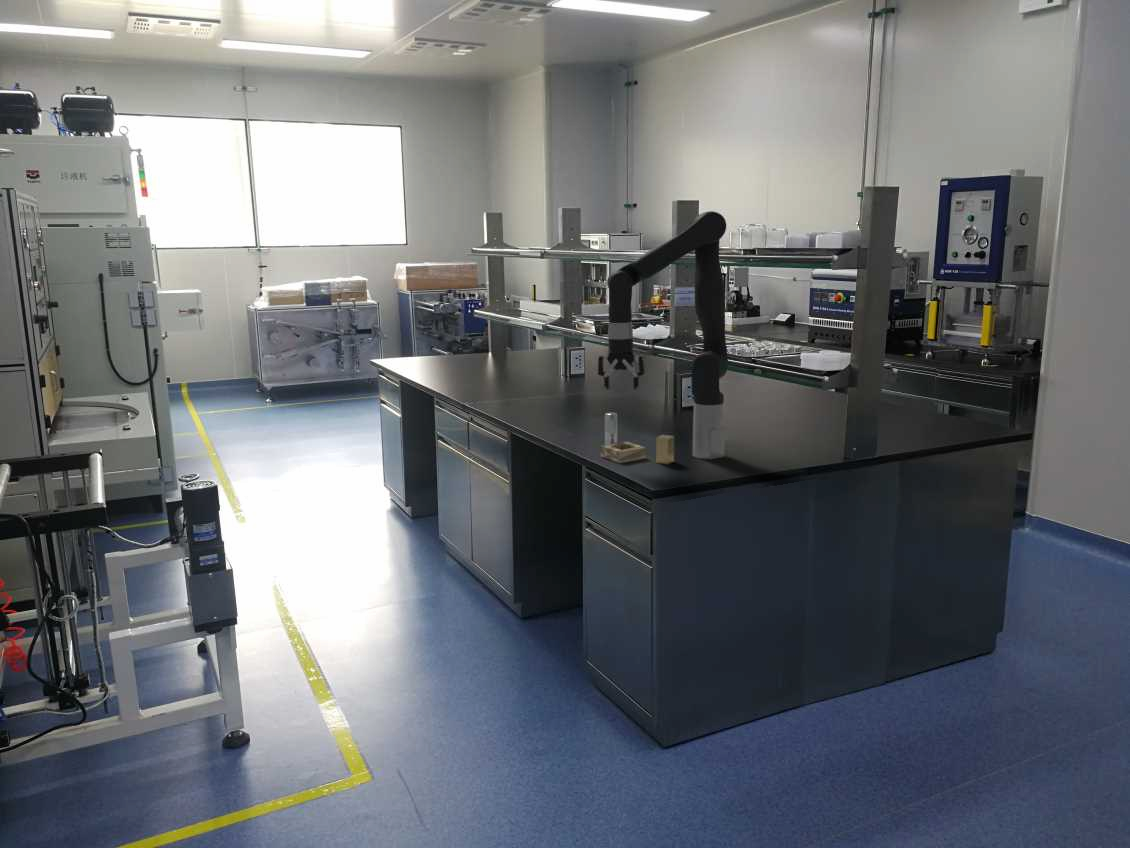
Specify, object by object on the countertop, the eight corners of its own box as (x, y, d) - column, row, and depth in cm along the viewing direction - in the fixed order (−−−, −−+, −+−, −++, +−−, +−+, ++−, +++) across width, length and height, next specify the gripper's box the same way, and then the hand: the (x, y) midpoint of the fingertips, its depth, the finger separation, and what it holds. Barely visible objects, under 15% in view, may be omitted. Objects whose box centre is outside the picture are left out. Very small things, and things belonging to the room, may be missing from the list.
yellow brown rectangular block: (673, 461, 264) (674, 436, 262) (667, 464, 260) (668, 438, 259) (662, 459, 266) (662, 434, 264) (656, 462, 263) (656, 437, 261)
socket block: (645, 458, 268) (645, 447, 267) (620, 463, 262) (620, 452, 261) (625, 451, 276) (625, 441, 275) (600, 456, 270) (600, 445, 269)
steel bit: (619, 450, 278) (619, 414, 275) (609, 451, 276) (609, 415, 273) (612, 447, 281) (612, 412, 279) (602, 449, 279) (602, 413, 276)
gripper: (645, 335, 263) (646, 387, 266) (600, 335, 267) (601, 386, 270) (641, 338, 256) (642, 391, 259) (595, 338, 259) (596, 390, 263)
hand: (621, 388), depth 265 cm, fingers open, 8 cm apart
